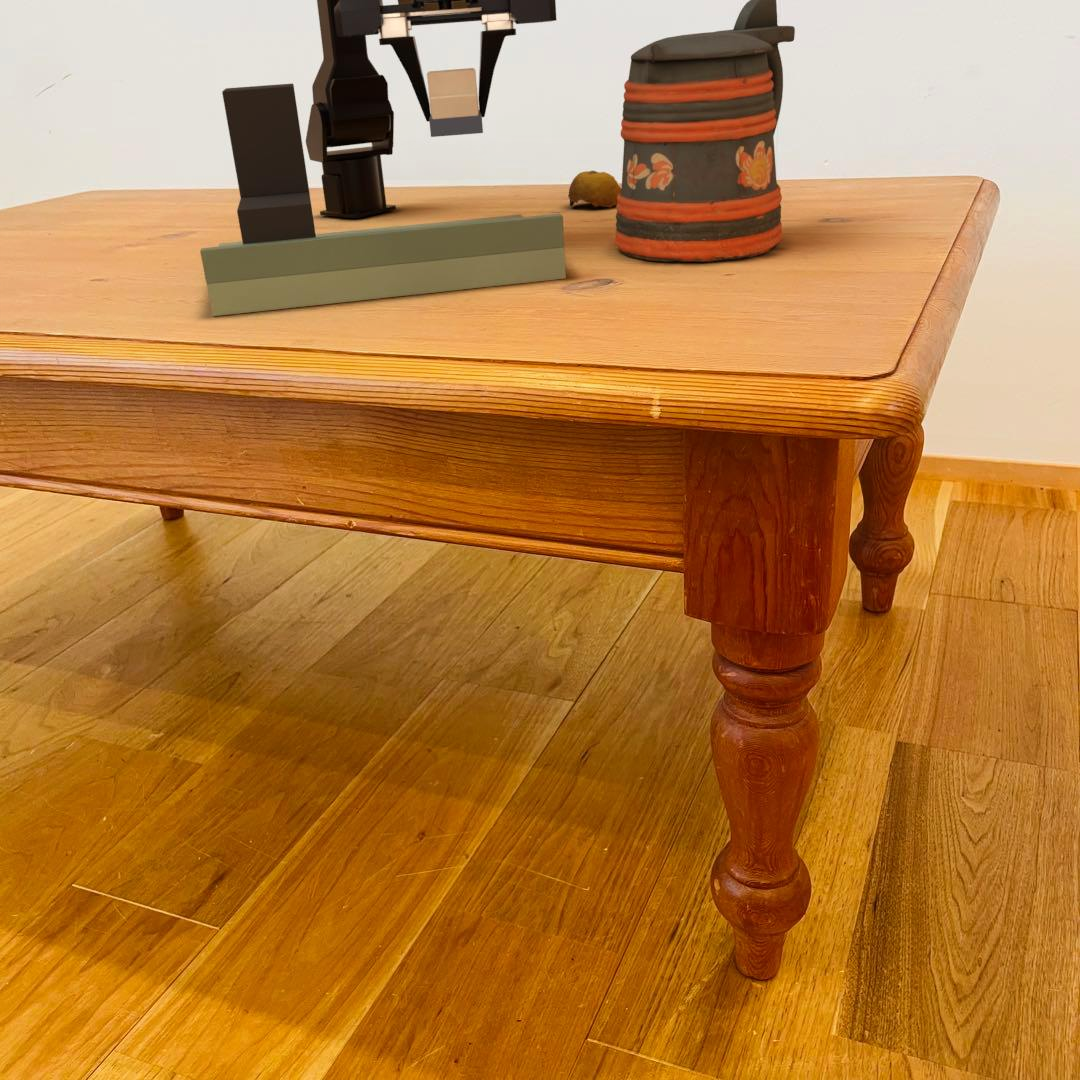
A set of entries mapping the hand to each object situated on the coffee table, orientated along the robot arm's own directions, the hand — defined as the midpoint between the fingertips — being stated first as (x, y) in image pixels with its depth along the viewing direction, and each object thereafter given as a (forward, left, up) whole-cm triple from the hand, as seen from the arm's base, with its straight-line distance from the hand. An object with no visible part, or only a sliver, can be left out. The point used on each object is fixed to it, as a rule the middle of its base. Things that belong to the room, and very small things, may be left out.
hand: (455, 119), depth 97 cm
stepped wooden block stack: (0, 0, -1) cm, 1 cm away
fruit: (-26, -2, -12) cm, 28 cm away
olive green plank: (+12, +1, -11) cm, 16 cm away
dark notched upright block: (+19, -3, -9) cm, 21 cm away
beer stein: (-11, +20, -12) cm, 26 cm away
